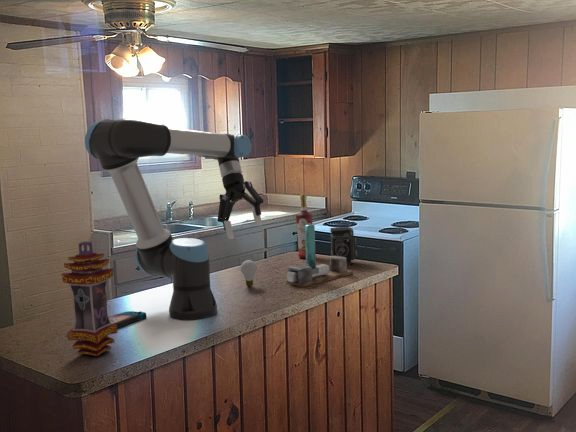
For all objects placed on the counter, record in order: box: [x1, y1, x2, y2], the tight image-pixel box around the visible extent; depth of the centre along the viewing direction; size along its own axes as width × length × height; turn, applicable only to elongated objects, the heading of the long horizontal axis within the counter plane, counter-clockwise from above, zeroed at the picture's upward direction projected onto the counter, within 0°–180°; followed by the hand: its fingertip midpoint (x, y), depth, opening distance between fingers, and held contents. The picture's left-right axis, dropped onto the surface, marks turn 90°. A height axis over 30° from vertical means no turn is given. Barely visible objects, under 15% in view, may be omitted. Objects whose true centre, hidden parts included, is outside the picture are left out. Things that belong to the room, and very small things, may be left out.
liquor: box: [295, 193, 313, 260], centre depth 277 cm, size 7×7×28 cm
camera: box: [329, 226, 358, 266], centre depth 262 cm, size 10×10×15 cm
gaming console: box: [66, 310, 147, 336], centre depth 191 cm, size 24×2×10 cm
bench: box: [286, 255, 354, 288], centre depth 239 cm, size 26×9×7 cm, turn 130°
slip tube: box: [286, 223, 330, 282], centre depth 234 cm, size 18×4×19 cm, turn 130°
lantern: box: [61, 241, 118, 357], centre depth 165 cm, size 10×9×30 cm
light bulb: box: [240, 259, 258, 288], centre depth 230 cm, size 6×6×10 cm
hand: (244, 232), depth 219 cm, fingers open, 13 cm apart
